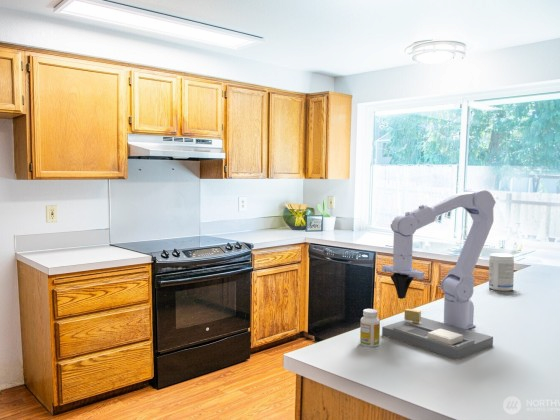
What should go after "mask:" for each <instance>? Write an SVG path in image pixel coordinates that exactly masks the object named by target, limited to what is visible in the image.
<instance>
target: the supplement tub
mask: <svg viewBox="0 0 560 420" xmlns="http://www.w3.org/2000/svg"><path fill="white" fill-rule="evenodd" d="M488 259H489V261H488V288H490V289H492V290H493V291H498V292H499V291H501V292H509V291H512V290H513V289H514V275H515V274H514V271H515V269H514V268H515V267H514V266H515V260H514V259H515V258H514V255H513V254H509V253H500V252H499V253H498V252H497V253H496V252H495V253H490V254H489V257H488Z"/></svg>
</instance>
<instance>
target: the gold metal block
mask: <svg viewBox="0 0 560 420" xmlns="http://www.w3.org/2000/svg"><path fill="white" fill-rule="evenodd" d="M421 317H422V310H420V309H412V308H405V309H404V320H410V321H412V323H414V324H419V321H420V320H421ZM404 320H403V321H404Z"/></svg>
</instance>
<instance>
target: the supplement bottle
mask: <svg viewBox="0 0 560 420" xmlns="http://www.w3.org/2000/svg"><path fill="white" fill-rule="evenodd" d="M362 312H363V313H362V315H363V316H362V317H361V318H360V339H359V342H360V344H361V346H364V347H367V348H375V347H379V345H380V335H381V334H380V331H381V330H380V329H381V326H380V325H381V324H380V323H381V322H380V321H381V320H380V318H379V317H378V315H379V314H378V310H377V309H376V308H375V309H374V308H365V309H363V310H362Z"/></svg>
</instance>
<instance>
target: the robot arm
mask: <svg viewBox="0 0 560 420" xmlns="http://www.w3.org/2000/svg"><path fill="white" fill-rule="evenodd" d="M495 205H496V200H495V198H494V196H493V194H492V193H491V192H490V191H489V190H486V189H485V190H481V189H479V190H478V189H469V188H468V189H466V190H464V191H460V192H457V193H455V194H453V195H452V196H450V197H448V198H446V199H444V200H442V201H440V202H439V203H437V204H434V205H433V206H430V205H428V204H425V205H424V204H420V205H418V208H417V209H414V210H412V211H406V212H405V213H404V215H397V216H395V218H393V220H392V221H391V224H390V228H391V231H392V232H393V245H392V246H393V248H392V249H393V250H392V251H393V252H392V253H393V254H392V255H393V256H392V265H389V264H384V265H381V272H383V273H390V274H391V276H390V278H391V281H392V282H393V285H394V287H395V288H394V289H395V291H396V294H397V295H396V296H397V298H398V299H401V300H402V299H406V296H407V294H408V293H407V292H408V290H409V287H410V285H411V283H412V281H413V280H414V278H415V279H418V280H422V279H423V280H424V279H425V272H424V271H421V270H417V269H414V268H413V240H414V238H413V237H414V236H413V235H414V234H415V233H416V231H417V230H419V229H422V228H424V227H426V226H428V225H431V224H432V223H434V222H436V219H437V217H439V216H441V215H443V214H446V213H448V212H450V211H453V210H455V209H458V208H463V209H464V210H465V211H466V212H467V213H468V214H469V216H470V217H471V219H472V224H471V227H470V230H469V232H468V234H467V237H466V239H465V241H464V243H463V246H462V249H461V251H460V254H459V257H458V259H457V261H456V262H455V263H456V264H455V266H453V268H450V269H449V270H448V271H447V274H446V276H445V277H443V278H442V279H441V281H440V282H441V283H440V289H441V291H442V292H443V293H444V294H443V296H444V297H443V298H444V299H443V300H444V302H443V322H441V323H445V324H449V325H452V326H456V327H459V328H463V329H467V330H470V329H472V328H474V327H476V326H477V324H475V323H474V316H475V315H474V314H475V313H474V312H475V311H474V308H475V305H474V303H473V301H472V300H471V298H472V296H473V295H474V285H475V282H476V280H475V277H474V275H473V274H474V273H473V272H474V270H475V267H476V265H477V263H478V260H479V258H480V255H481V253H482V251H483V247H484V246H485V243H486V242H487V238H488V236H489V234H490V230H491V229H492V226H493V223H494V208H495Z"/></svg>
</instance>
